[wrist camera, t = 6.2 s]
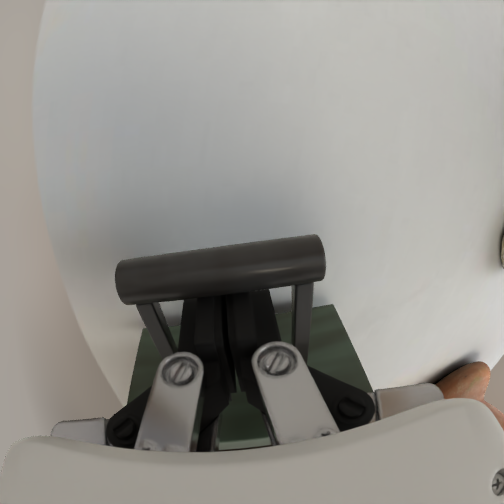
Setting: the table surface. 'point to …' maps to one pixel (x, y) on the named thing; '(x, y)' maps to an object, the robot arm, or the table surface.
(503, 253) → the bread roll
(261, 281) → the drawer
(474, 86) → the table surface
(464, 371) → the ceramic jug
